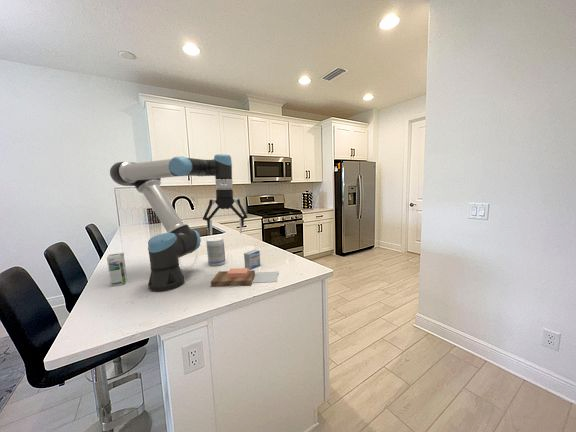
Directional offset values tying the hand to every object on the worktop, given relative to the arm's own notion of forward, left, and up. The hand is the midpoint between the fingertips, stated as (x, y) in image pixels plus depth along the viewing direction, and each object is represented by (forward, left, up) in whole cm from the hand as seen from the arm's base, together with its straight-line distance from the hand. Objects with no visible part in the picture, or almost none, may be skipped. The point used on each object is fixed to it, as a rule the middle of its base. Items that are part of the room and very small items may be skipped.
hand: (226, 233), depth 112 cm
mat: (+18, -1, -22) cm, 29 cm away
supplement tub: (-13, +21, -22) cm, 34 cm away
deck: (+3, -4, -22) cm, 23 cm away
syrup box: (-53, -3, -22) cm, 58 cm away
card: (+5, -3, -20) cm, 20 cm away
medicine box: (+9, +14, -22) cm, 28 cm away
